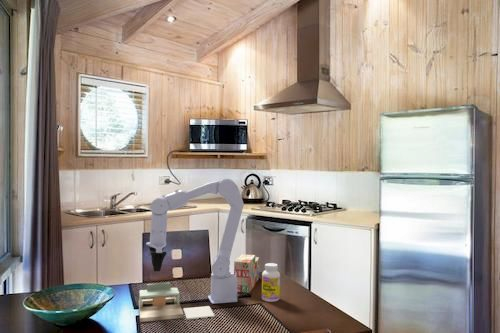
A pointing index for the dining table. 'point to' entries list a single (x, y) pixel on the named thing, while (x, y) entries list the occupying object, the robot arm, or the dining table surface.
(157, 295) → the sliding cover
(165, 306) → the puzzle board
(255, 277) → the printed cardboard box
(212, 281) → the robot arm
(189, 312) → the tile
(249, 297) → the dining table surface
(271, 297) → the supplement bottle
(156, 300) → the block
